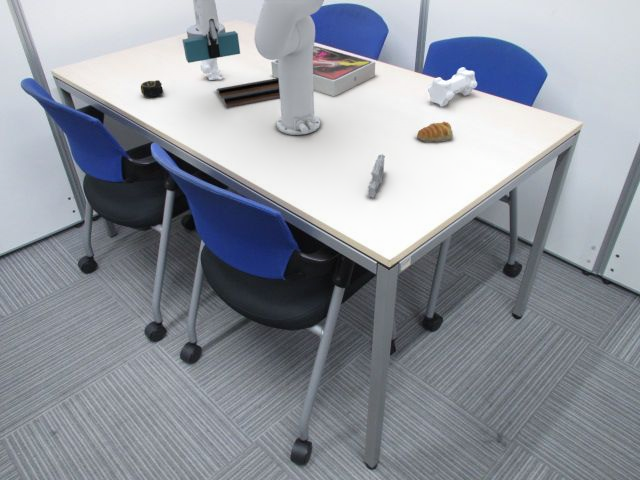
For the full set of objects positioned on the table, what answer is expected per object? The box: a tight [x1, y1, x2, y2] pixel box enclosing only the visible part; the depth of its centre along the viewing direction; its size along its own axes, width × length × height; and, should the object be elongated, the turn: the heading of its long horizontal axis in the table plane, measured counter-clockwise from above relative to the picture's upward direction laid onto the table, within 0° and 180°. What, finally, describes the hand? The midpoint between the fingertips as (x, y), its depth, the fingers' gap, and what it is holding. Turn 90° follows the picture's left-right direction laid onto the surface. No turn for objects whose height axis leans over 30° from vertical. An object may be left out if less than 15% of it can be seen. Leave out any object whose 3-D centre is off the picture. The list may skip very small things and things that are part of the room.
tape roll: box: [186, 22, 226, 39], centre depth 216 cm, size 15×15×5 cm
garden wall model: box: [367, 153, 386, 199], centre depth 127 cm, size 12×2×6 cm, turn 163°
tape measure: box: [140, 79, 164, 98], centre depth 174 cm, size 7×7×4 cm
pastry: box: [416, 121, 454, 143], centre depth 146 cm, size 9×7×4 cm
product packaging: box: [270, 44, 376, 97], centre depth 183 cm, size 22×28×5 cm
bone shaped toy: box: [427, 66, 478, 107], centre depth 164 cm, size 15×9×8 cm, turn 131°
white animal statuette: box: [199, 58, 223, 81], centre depth 182 cm, size 8×7×12 cm
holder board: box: [215, 77, 280, 109], centre depth 174 cm, size 14×22×2 cm, turn 112°
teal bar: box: [182, 30, 241, 64], centre depth 159 cm, size 16×3×6 cm, turn 114°
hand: (213, 55), depth 161 cm, fingers closed on teal bar, 3 cm apart
